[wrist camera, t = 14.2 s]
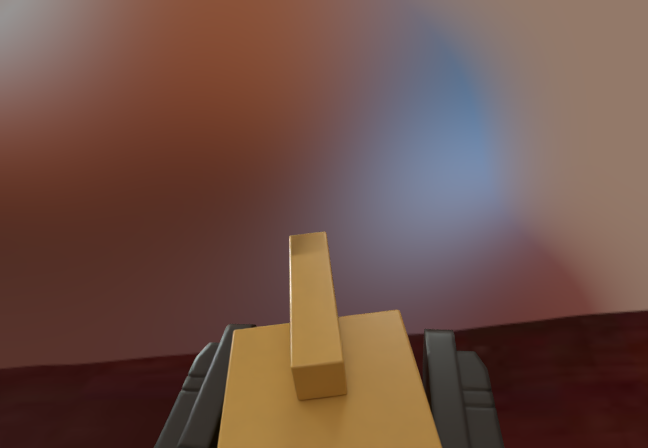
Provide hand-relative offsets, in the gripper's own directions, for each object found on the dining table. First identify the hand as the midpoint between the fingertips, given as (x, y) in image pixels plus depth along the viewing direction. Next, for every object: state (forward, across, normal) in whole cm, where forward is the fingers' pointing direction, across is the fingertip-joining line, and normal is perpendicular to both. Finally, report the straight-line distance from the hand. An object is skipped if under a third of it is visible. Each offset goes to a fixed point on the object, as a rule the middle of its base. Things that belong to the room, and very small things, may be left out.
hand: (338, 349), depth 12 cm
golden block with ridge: (-2, 0, +8) cm, 8 cm away
